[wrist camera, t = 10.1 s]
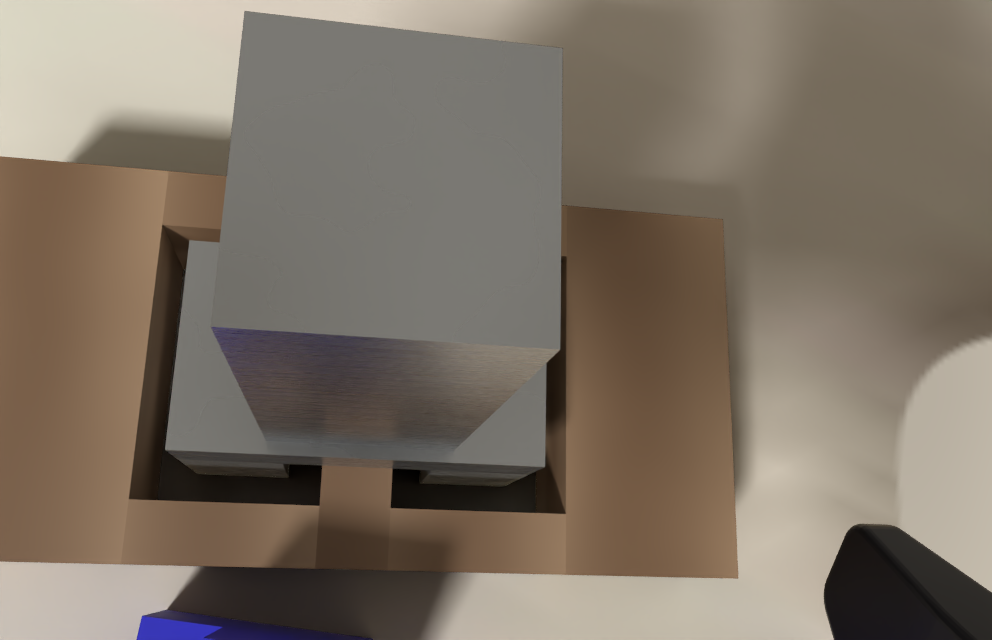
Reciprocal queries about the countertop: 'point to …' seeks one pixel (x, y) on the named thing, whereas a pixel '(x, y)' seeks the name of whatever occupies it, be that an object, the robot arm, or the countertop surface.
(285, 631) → the cable clip
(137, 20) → the countertop surface
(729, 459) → the rail
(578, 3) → the countertop surface
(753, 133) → the countertop surface
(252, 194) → the grey tower on plinth
